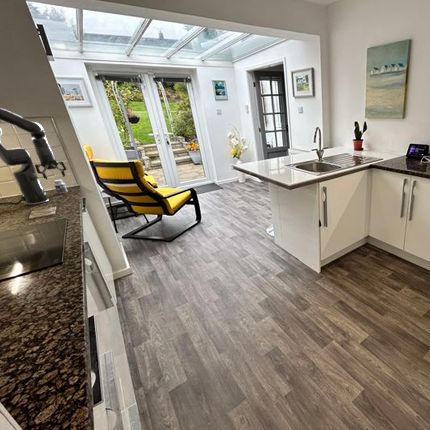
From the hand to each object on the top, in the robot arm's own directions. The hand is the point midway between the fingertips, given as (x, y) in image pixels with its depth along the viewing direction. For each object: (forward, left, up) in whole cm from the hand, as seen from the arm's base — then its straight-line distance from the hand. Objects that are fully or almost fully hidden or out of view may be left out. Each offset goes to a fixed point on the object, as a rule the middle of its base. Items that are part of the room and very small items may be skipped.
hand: (55, 177), depth 179 cm
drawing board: (+36, -34, -11) cm, 50 cm away
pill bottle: (+1, 0, -11) cm, 11 cm away
